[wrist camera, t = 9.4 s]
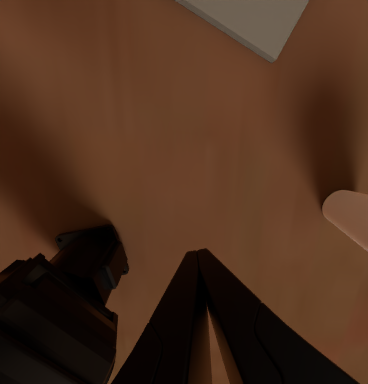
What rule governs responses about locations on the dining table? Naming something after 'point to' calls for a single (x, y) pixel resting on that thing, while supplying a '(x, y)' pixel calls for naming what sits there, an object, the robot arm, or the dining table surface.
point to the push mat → (252, 21)
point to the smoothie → (349, 214)
